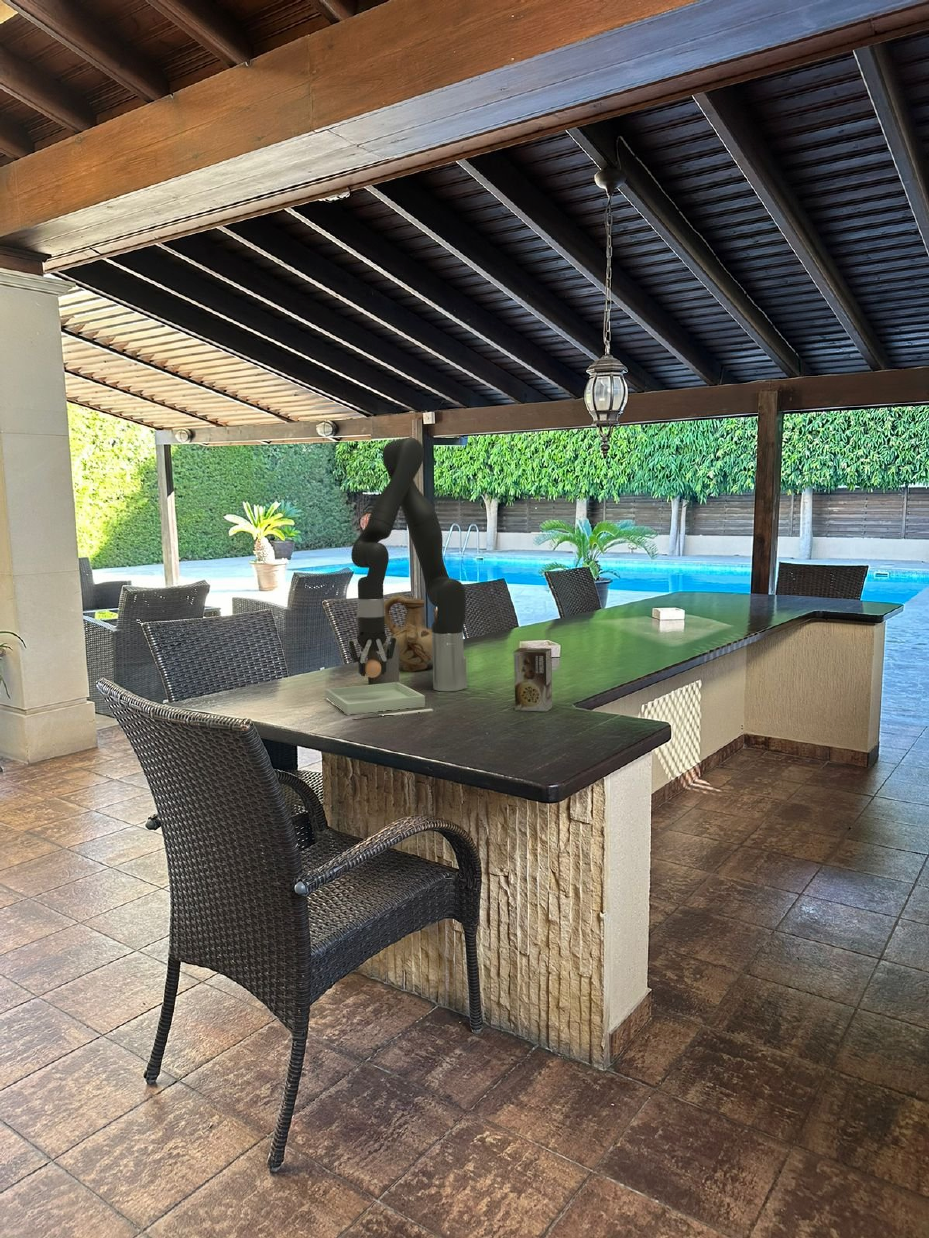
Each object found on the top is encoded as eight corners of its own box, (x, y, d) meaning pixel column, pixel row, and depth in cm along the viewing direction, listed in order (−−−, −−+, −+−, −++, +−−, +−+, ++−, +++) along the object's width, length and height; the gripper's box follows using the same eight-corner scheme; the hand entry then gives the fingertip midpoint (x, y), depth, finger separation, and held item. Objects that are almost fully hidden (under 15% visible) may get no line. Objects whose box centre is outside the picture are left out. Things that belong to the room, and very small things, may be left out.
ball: (378, 675, 249) (378, 657, 248) (383, 678, 244) (383, 660, 244) (361, 676, 247) (361, 658, 246) (366, 679, 242) (366, 661, 242)
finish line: (430, 709, 237) (430, 708, 237) (433, 710, 235) (433, 709, 235) (352, 718, 228) (352, 717, 228) (353, 720, 227) (353, 719, 227)
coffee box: (553, 706, 238) (552, 648, 236) (547, 712, 232) (546, 651, 230) (520, 705, 241) (519, 646, 239) (513, 710, 235) (513, 650, 233)
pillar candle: (362, 688, 267) (361, 639, 265) (377, 682, 276) (376, 634, 274) (390, 690, 263) (390, 641, 261) (405, 684, 272) (404, 636, 270)
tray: (398, 691, 261) (397, 681, 260) (425, 706, 241) (424, 695, 240) (325, 699, 252) (325, 689, 252) (347, 715, 232) (347, 704, 232)
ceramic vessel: (412, 676, 285) (410, 599, 282) (373, 669, 298) (371, 595, 295) (451, 668, 298) (450, 594, 295) (412, 662, 311) (411, 591, 308)
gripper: (391, 611, 250) (392, 670, 252) (342, 614, 244) (343, 675, 246) (400, 614, 243) (401, 675, 245) (349, 617, 237) (351, 679, 239)
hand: (372, 674), depth 245 cm, fingers closed on ball, 5 cm apart
